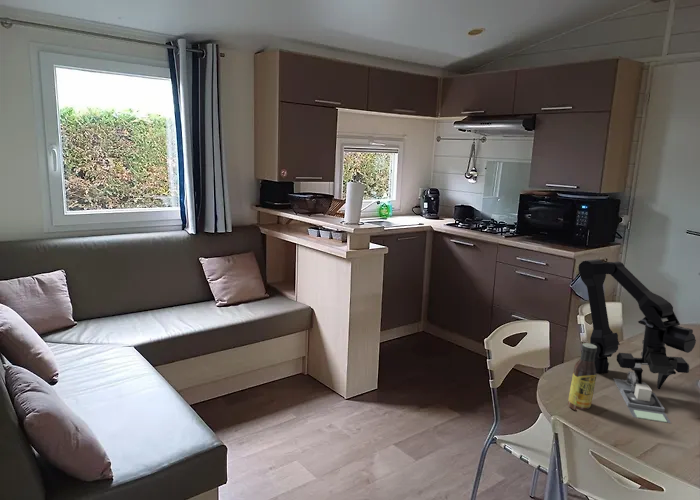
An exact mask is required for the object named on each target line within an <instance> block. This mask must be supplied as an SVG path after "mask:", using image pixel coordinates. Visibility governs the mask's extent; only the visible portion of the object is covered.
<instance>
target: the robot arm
mask: <svg viewBox="0 0 700 500" xmlns="http://www.w3.org/2000/svg"><path fill="white" fill-rule="evenodd" d="M578 274H579V276H580V280H581V281H582V283H583V284H584V285H585V287H586V289H587V296H588V302H589V303H588V304H589V310H590V317H591V322H592V332H591V335H590V337H589V340H590V342H589V343H590V344H593V345H596V346H597V352H596V354H595V368H596V374H597V375H598V374H599V375H602V374H608V372H609V367H610V362H609V359H608V358H610V357H612V356H613V354H615V353H617V351H618V350H619V345H620V342H619V334H618V332H613V331H612V329H611V327H610V324H609V316H608V311H607V310H608V309H607V304H606V303H607V302H606V297H605V290H604V282H605V280H606V278H607V275H610V276H612V277H613V279H614V280H616V282H617V283H618V284H620V286H622V287H623V288H624V289H625V291H627V293H628V294H629V295H630V296H631V297H632V298H633V299H635V300H634V301H636V303H637V305H638V308H639V310H640V311H641V313H642V314H643V316H644V317H643V318H642V319H640V320H638V321H637V322H638V324H640V325H643V326H644V334H643V339H642V352H641V353H640V356H641V357H634V356H633V354H632V353H628V352H618V353H617V355H616V362H617V364H618V366H619V367H620V368H623V369H630V371H631V370H632V372H635V375H636V378H637V379H636V382H638V384H642V381H643V371H644V370H643V368H642V365H645V366H648V370H649V372H650V373H651V374H658V375H657V381H656V388H657V389H658V390H661V388H662V386H663V385H664V384H665V381H666V380H667V379H668V377H670V376H672V375H676V374H677V373H682V374H689V373H690V364H689V363H688V362H687V361H686V359H684V358H683V357H682V356H680V357H679V356H667V348H666V347H670V348H673V349H676V350H677V351H681V352H685V353H686V354H688V353H691V352H692V351H693V350H694V348H695V347H696V344H697V343H696V342H697V339H696V336H695V334H694V333H693V332H694V329H692V328H689V327H688V328H687V327H684V326H683V327H682V326H680V325H681V323H680V321H679V319H678V318H677V317H678V316H676V313H675V311H674V306H673V304H672V303H671V302H669V301H668V300H667V299H665V298H664V297H662V296H660V295H658V294H656V293H654V292H652V291H651V290H650V289H648V288H647V287H646V286H645V285H644V283H643V282H641V281H640V280H639V279H638V278H637V277H636V276H635V275H634V274H633V273H632V272H631V271H630V270H629V269H628V268H627V267H626V266H625V264H624V263H623V262H621V261H603V260H601V259H590V260H589V259H588V260H583V261H581V262H580V263H579V265H578ZM663 320H665V321H663Z"/></svg>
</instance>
